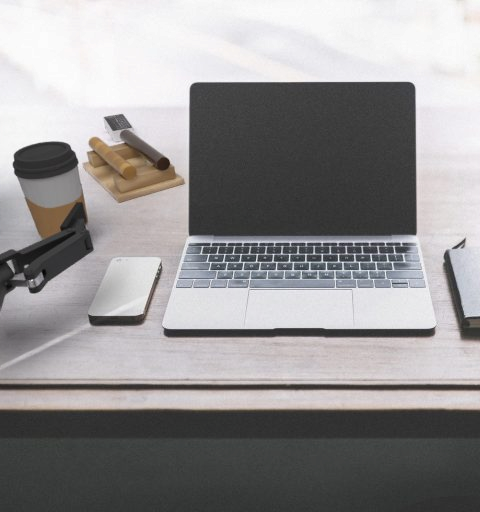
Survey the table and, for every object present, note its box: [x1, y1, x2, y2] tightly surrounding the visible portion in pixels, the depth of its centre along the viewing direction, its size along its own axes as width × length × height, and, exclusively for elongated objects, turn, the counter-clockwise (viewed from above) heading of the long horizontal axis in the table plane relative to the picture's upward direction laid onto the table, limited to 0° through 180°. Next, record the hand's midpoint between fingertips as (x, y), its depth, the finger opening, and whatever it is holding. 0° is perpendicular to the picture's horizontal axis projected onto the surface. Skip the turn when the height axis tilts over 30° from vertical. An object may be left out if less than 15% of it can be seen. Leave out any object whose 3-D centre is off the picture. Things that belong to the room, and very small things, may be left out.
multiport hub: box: [102, 113, 136, 143], centre depth 132 cm, size 4×11×2 cm, turn 27°
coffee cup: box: [12, 140, 90, 240], centre depth 87 cm, size 8×8×15 cm
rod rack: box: [82, 129, 185, 204], centre depth 112 cm, size 19×12×6 cm, turn 35°
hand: (27, 214), depth 78 cm, fingers open, 13 cm apart
